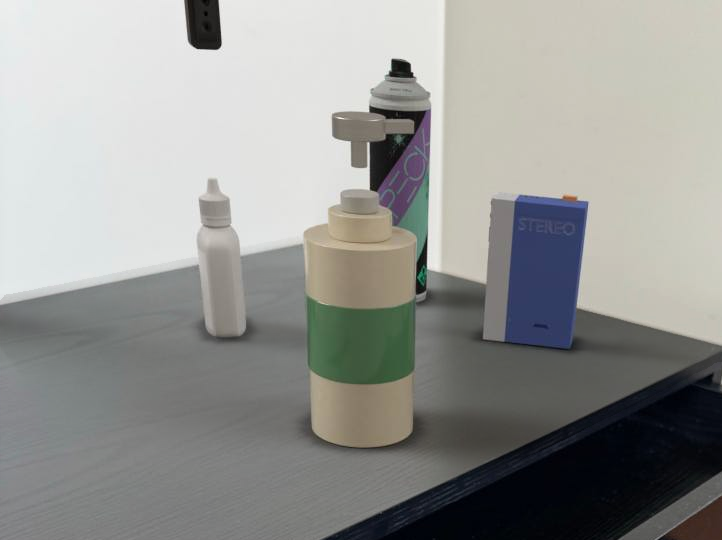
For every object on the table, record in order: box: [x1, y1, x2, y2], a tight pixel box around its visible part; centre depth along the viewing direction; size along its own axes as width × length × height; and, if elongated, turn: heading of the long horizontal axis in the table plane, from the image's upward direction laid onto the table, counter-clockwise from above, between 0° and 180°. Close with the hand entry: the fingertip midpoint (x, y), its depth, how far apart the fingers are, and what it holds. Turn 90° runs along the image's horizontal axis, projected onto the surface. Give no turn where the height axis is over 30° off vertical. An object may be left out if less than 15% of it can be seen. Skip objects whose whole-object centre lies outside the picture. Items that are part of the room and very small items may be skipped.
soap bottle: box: [302, 188, 417, 449], centre depth 65 cm, size 7×7×16 cm
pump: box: [331, 110, 414, 169], centre depth 59 cm, size 5×3×3 cm, turn 113°
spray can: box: [368, 58, 432, 303], centre depth 89 cm, size 6×6×20 cm
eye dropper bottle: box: [196, 177, 247, 338], centre depth 81 cm, size 4×6×12 cm
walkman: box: [482, 192, 590, 350], centre depth 83 cm, size 8×3×12 cm, turn 79°
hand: (205, 48), depth 71 cm, fingers closed
